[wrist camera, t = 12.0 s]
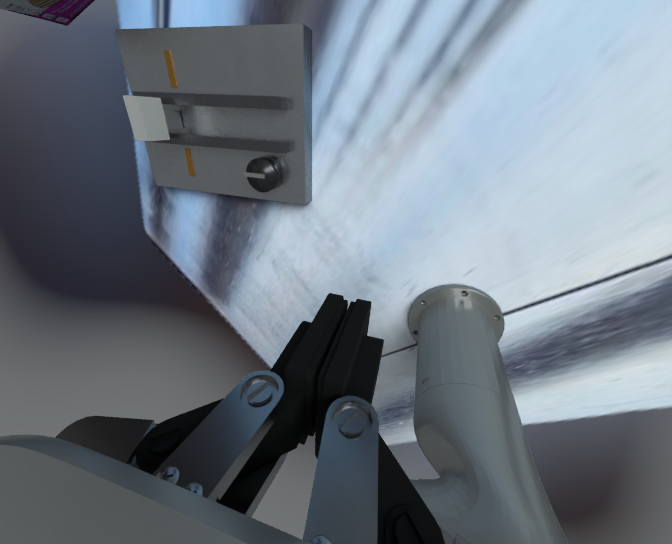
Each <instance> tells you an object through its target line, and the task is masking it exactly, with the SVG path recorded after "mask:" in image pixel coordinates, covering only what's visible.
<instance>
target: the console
mask: <svg viewBox="0 0 672 544" xmlns="http://www.w3.org/2000/svg"><path fill="white" fill-rule="evenodd" d="M115 33H116V37H117V41H118V44H119V48H120V52H121V55H122V59H123V63H124V67H125V70H126V74H127V78H128V81H129V85H130V89H131V92H132V96H143V97H155V98H161V102H162V107H163V110H179V111H180V116H181V121H182V126H183V128H179V129H168V133H169V137H170V140H159V141H145V144H146V148H147V152H148V155H149V159H150V163H151V166H152V170H153V174H154V177H155V181H156V185H157V186H165V187H172V188H180V189H188V190H195V191H203V192H211V193H218V194H226V195H233V196H241V197H249V198H256V199H264V200H272V201H279V202H287V203H294V204H302V205H306V204H307V203H309V202H310V201H312V30H311V29H310V28H308V27H307V26H306V25H304V24H276V25H244V26H212V27H180V28H148V29H116V30H115Z"/></svg>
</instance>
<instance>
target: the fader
mask: <svg viewBox="0 0 672 544" xmlns="http://www.w3.org/2000/svg"><path fill="white" fill-rule="evenodd" d="M123 98H124V101H125V105H126V108H127V112H128V115H129V119H130V122H131V126H132V129H133V133H134V136H135V140H138V141H159V140H170V137H169V133H168V129H179V128H183V126H182V121H181V116H180V111H179V110H163V107H162V102H161V98H155V97H143V96H124V95H123Z"/></svg>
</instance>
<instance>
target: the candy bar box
mask: <svg viewBox="0 0 672 544" xmlns="http://www.w3.org/2000/svg"><path fill="white" fill-rule="evenodd" d="M93 1H94V0H0V9H4V10H9V11H13V12H17V13H20V14H24V15H28V16H32V17H36V18H40V19H44V20H48V21H51V22H56V23H59V24H63V25H69V24H70V23H71V22H72V21H73V20H74V19H75V18H76V17H77V16H78V15H79V14H80V13H81V12H83V10H84V9H86V8H87V7H88V6H89V5H90V4H91V3H92V2H93Z"/></svg>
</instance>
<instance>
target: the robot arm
mask: <svg viewBox="0 0 672 544" xmlns="http://www.w3.org/2000/svg"><path fill="white" fill-rule="evenodd" d="M463 291H464V292H463ZM347 306H348V301H347V300H344V298H343V296H341V295H336V294H332V293H329V294H328V296H327V298H326V299H325V301H324V303H323V304H322V306H321V308H320V309H319V311H318V313H317V315H316V316H315V318H314V320H313V321H312V323H311V322H307V321H303V322H302V323H301V324H300V325H299V327H298V328H297V330H296V332H295V333H294V335H293V336H292V338H291V339H290V341H289V343H288V344H287V346H286V347H285V349H284V350H283V352H282V353H281V355H280V357H279V358H278V360H277V361H276V363H275V364H274V366H273V368H272V369H271V371H258V372H254V373H251V374H249V375H247V376H246V377H245V378H243V379H242V380H241V381H240V382H239V383H238V384H237V385H236V386H235V387H234V388H233V389H232V391H230V393H229V394H228V395H227V396H226V397H225V398H223V399H221V400H218V401H215V402H213V403H210V404H207V405H205V406H202V407H199V408H197V409H194V410H192V411H189V412H186V413H183V414H181V415H178V416H175V417H173V418H170V419H168V420H165V421H163V422H161V423H160V424H155V422H154V420H145V419H144V420H143V419H131V418H118V417H105V416H90V417H85V418H83V419H80V420H77V421H76V422H74V423H72V424H71V425H69V426H67V427H66V428H65V429H64V430H63V431H62V432H60V434H58V435H57V436H56V437H55V438H53V437H47V436H42V435H10V436H2V437H0V544H568V543H567V540H566V538H565V536H564V533H563V531H562V529H561V527H560V525H559V523H558V520H557V518H556V516H555V514H554V511H553V509H552V507H551V505H550V502H549V500H548V497H547V495H546V492H545V490H544V487H543V485H542V482H541V480H540V478H539V475H538V472H537V469H536V466H535V463H534V460H533V458H532V454H531V452H530V448H529V445H528V442H527V439H526V436H525V433H524V430H523V426H522V423H521V420H520V416H519V413H518V410H517V406H516V403H515V400H514V396H513V393H512V390H511V386H510V383H509V379H508V376H507V373H506V369H505V366H504V363H503V359H502V356H501V353H500V349H499V346H498V342H499V340H500V338H501V337H502V335H503V331H504V318H503V314H502V312H501V309H500V307H499V306H498V304H497V303H496V301H495V300H494V299H492V298H491V297H490V296H489V295H488V294H486V293H484V292H483V291H481V290H479V289H476V288H474V287H470V286H466V285H456V284H451V285H442V286H439V287H435V288H432V289H430V290H428V291H426V292H425V293H423V294H422V295H420V296H419V297H418V298H417V299H416V300H415V302H414V303H413V305H412V306H411V309H410V312H409V318H408V326H409V329H410V332H411V334H412V336H413V338H414V339H415V341H416V342H417V343H418V350H417V367H416V384H415V400H414V418H413V421H414V431H415V435H416V438H417V441H418V444H419V446H420V448H421V450H422V451H423V453H424V455H425V456H426V458H427V459H428V461H429V462H430V464H431V465H432V466H433V468H434V469H435V470H436V472H437V473H438V474H439V475H440V478H438V479H418V480H412V479H409V478H408V477H407V475H406V474H405V472H404V471H403V469H402V468H401V466H400V465H399V463H398V462H397V460H396V459H395V457H394V456H393V454H392V452H391V451H390V449H389V448H388V446H387V445H386V443H385V442H384V440H383V439H382V437H381V436H380V434H379V433H378V431H379V423H378V416H377V413H376V411H375V409H374V408H373V407H372V406H371V404H372V399H373V395H374V390H375V385H376V380H377V375H378V370H379V365H380V360H381V354H382V349H383V343H384V340H383V339H379V338H375V337H370V336H367V333H368V325H369V317H370V310H371V302H370V301H366V300H361V299H357V300H356V302H352V301H351V303H350V305H349V307H348V310H347ZM315 431H316V433H315ZM314 433H315V435H316V438H315V455H316V457H317V460H318V461H317V467H316V472H315V477H314V483H313V488H312V493H311V498H310V504H309V509H308V515H307V520H306V526H305V531H304V536H303V540H302V539H299V538H297V537H295V536H293V535H290V534H288V533H286V532H283V531H281V530H279V529H276V528H274V527H272V526H269V525H267V524H265V523H262V522H260V521H258V520H256V519H253V518H251V517H252V515H253V513H254V512H255V510H256V508H257V507H258V505H259V503H260V502H261V499H262V498H263V496H264V495H265V493H266V491H267V490H268V488H269V486H270V485H271V483H272V481H273V480H274V478H275V476H276V474H277V473H278V471H279V469H280V468H281V466H282V464H283V463H284V461H285V459H286V456H287V454H288V452H289V451H291V450H293V449H295V448H297V445H298V443H301V444H305V442H306V439H307V436H308V435H309V436H313V435H314Z"/></svg>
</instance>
